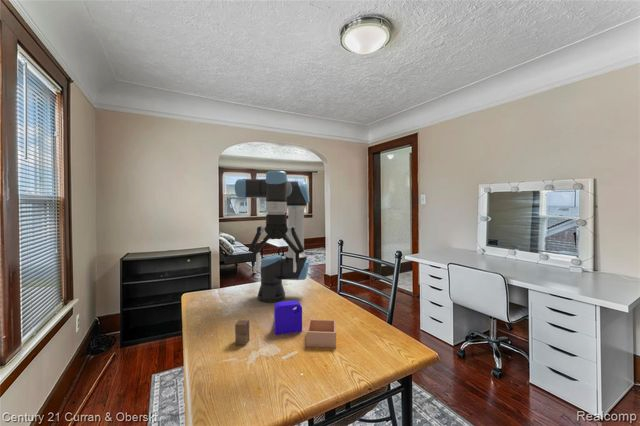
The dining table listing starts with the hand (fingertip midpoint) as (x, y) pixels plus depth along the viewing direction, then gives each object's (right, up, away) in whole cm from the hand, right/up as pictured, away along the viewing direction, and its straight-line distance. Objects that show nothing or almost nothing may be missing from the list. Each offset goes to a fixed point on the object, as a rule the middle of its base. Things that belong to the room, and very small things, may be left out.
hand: (276, 271), depth 99 cm
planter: (+17, -28, +5) cm, 33 cm away
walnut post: (-13, -28, +3) cm, 31 cm away
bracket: (+1, -28, +19) cm, 34 cm away
